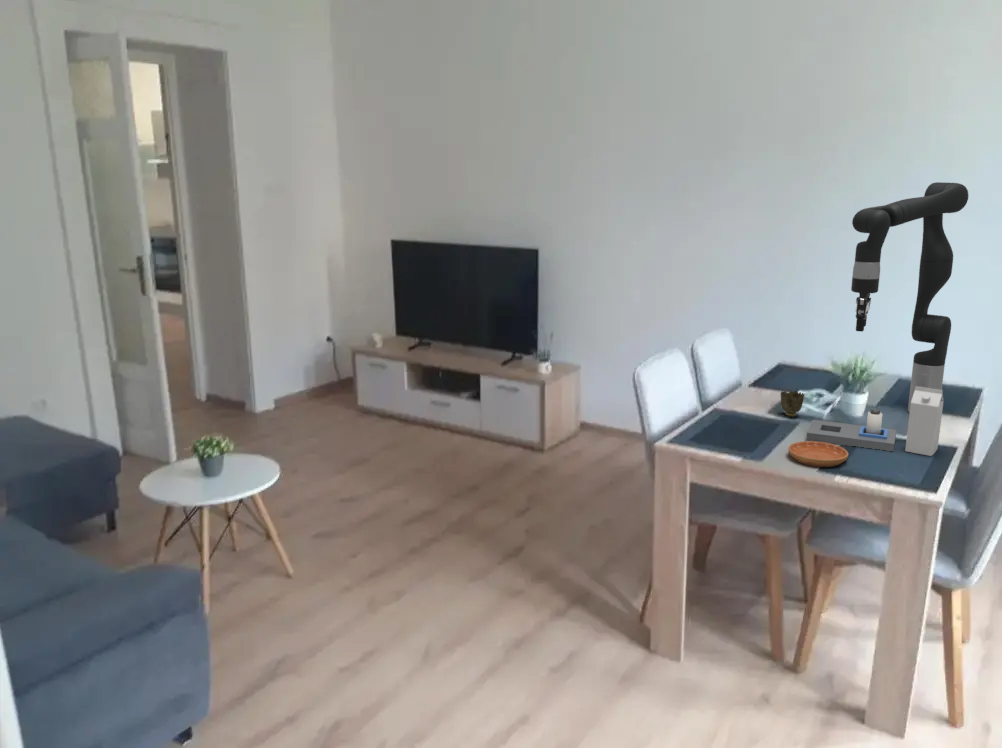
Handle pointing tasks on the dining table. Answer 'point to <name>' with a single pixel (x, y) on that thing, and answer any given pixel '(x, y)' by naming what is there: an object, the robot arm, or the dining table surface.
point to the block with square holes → (850, 435)
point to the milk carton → (924, 421)
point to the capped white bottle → (874, 422)
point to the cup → (791, 402)
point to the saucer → (818, 453)
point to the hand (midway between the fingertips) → (860, 328)
